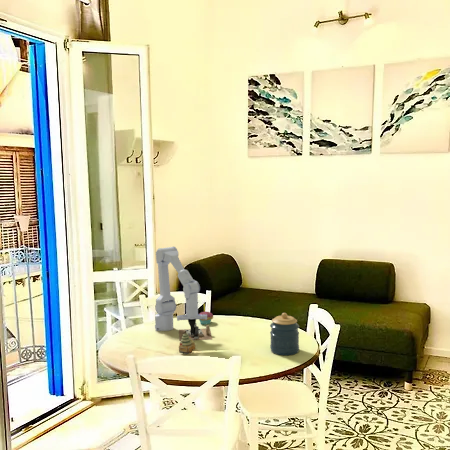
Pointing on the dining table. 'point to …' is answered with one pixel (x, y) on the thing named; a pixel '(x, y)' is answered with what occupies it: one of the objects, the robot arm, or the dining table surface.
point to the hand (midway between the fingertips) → (192, 334)
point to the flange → (195, 332)
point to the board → (204, 337)
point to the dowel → (207, 330)
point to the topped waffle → (186, 344)
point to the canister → (284, 335)
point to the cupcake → (209, 317)
